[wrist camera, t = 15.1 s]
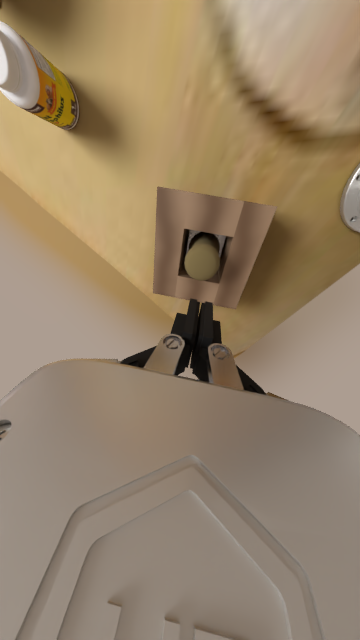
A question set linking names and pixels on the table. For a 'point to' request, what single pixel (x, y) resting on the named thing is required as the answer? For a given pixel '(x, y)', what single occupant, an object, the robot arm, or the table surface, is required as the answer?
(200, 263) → the olive pear shape
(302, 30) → the table surface
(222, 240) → the gray square plate
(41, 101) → the supplement bottle
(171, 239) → the brown square frame
